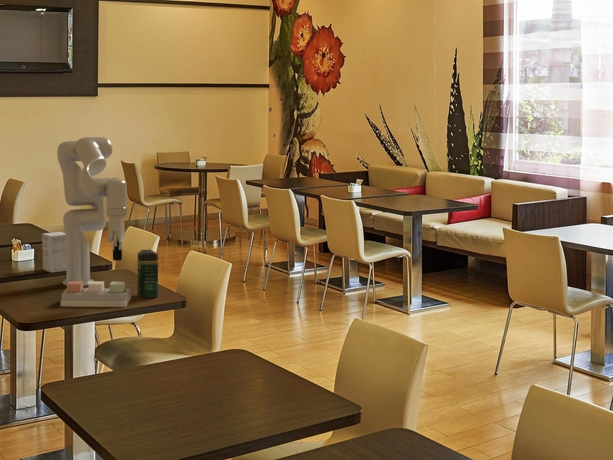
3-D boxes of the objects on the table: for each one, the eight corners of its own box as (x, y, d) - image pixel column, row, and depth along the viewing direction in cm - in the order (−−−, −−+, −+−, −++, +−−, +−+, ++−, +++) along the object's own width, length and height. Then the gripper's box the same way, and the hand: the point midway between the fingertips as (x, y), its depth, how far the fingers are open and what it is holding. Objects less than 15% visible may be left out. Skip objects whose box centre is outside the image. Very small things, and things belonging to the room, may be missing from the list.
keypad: (68, 298, 322) (68, 287, 321) (130, 299, 323) (130, 287, 323) (60, 306, 309) (60, 294, 308) (125, 306, 311) (125, 295, 310)
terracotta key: (70, 290, 317) (69, 281, 317) (83, 290, 318) (83, 281, 317) (67, 292, 313) (66, 283, 312) (80, 293, 313) (80, 284, 312)
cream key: (91, 290, 318) (90, 281, 317) (104, 290, 318) (104, 281, 318) (88, 293, 313) (88, 284, 313) (101, 293, 313) (101, 284, 313)
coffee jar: (159, 298, 326) (159, 252, 323) (139, 299, 323) (139, 252, 321) (156, 293, 335) (155, 247, 332) (136, 294, 332) (136, 248, 330)
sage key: (112, 290, 318) (112, 281, 318) (125, 290, 319) (125, 281, 318) (109, 293, 314) (109, 284, 313) (123, 293, 314) (123, 284, 313)
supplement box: (62, 267, 383) (61, 231, 381) (70, 270, 376) (70, 234, 374) (42, 269, 377) (41, 233, 375) (50, 272, 370) (49, 235, 368)
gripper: (110, 210, 319) (111, 256, 321) (103, 214, 304) (103, 263, 307) (129, 210, 319) (130, 256, 322) (123, 214, 304) (124, 263, 307)
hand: (117, 260), depth 314 cm, fingers closed
